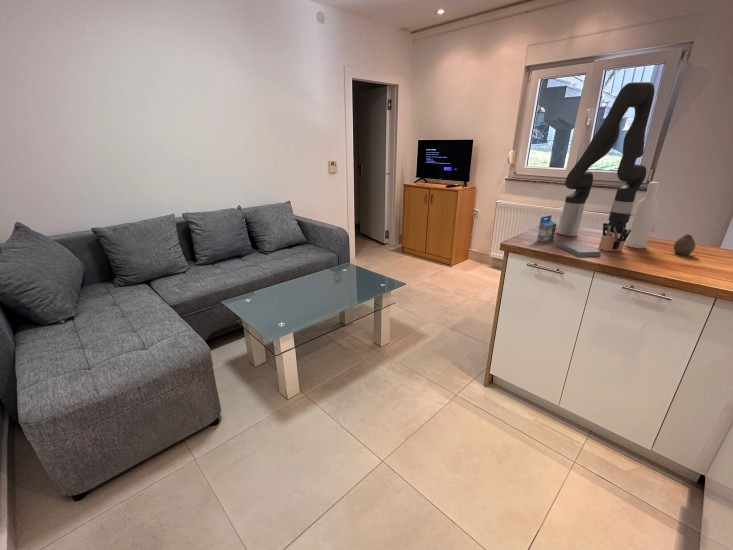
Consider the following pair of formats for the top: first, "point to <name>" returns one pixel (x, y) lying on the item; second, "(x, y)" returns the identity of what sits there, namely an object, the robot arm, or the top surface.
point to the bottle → (643, 218)
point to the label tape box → (546, 229)
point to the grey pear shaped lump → (684, 245)
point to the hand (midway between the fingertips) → (610, 247)
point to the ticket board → (579, 249)
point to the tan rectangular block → (609, 243)
